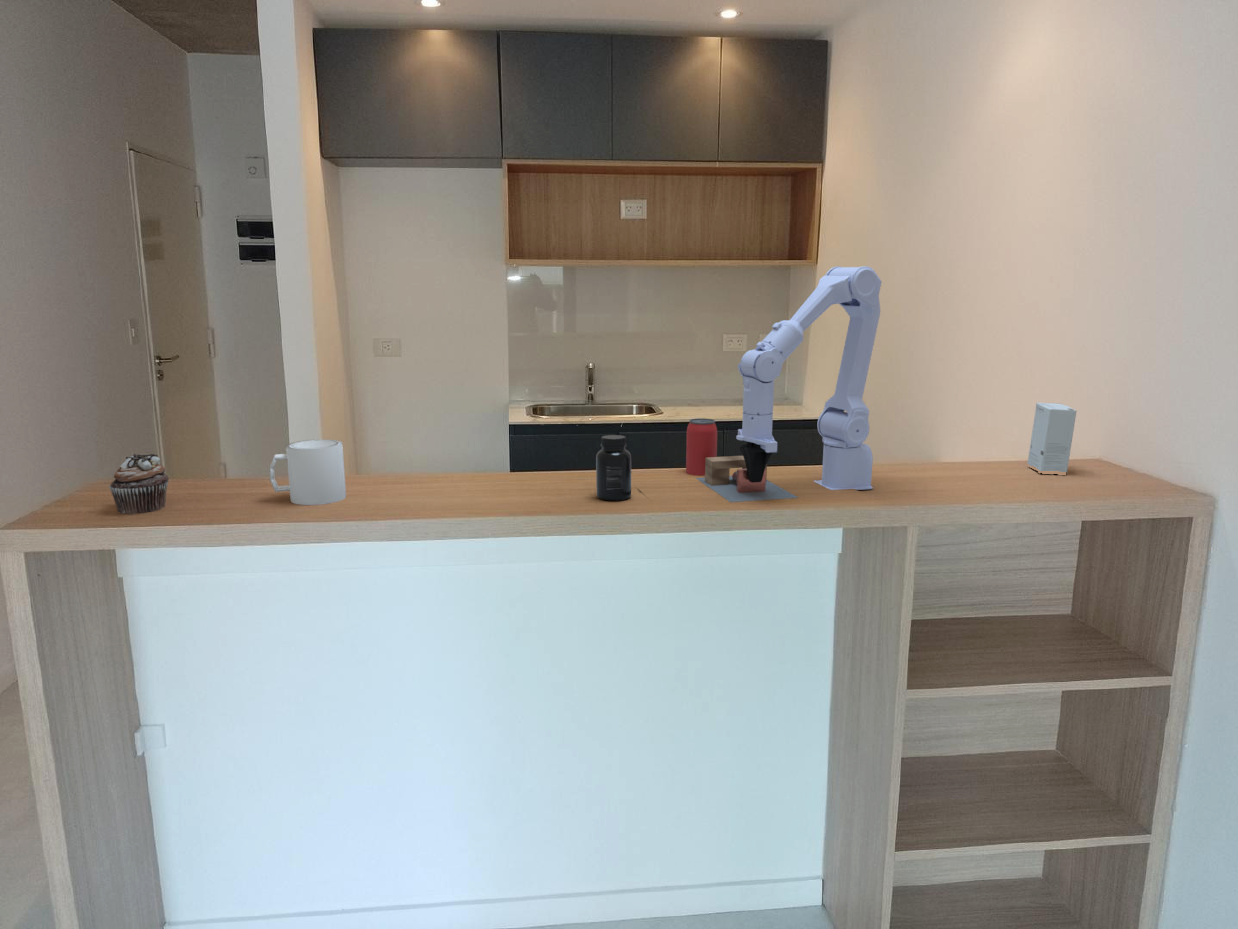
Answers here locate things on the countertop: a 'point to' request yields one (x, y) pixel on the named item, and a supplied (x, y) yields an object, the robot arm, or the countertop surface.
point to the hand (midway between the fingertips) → (755, 481)
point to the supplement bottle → (613, 469)
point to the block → (722, 468)
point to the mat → (733, 496)
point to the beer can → (700, 444)
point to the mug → (313, 472)
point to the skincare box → (1051, 437)
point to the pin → (747, 482)
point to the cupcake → (140, 485)
